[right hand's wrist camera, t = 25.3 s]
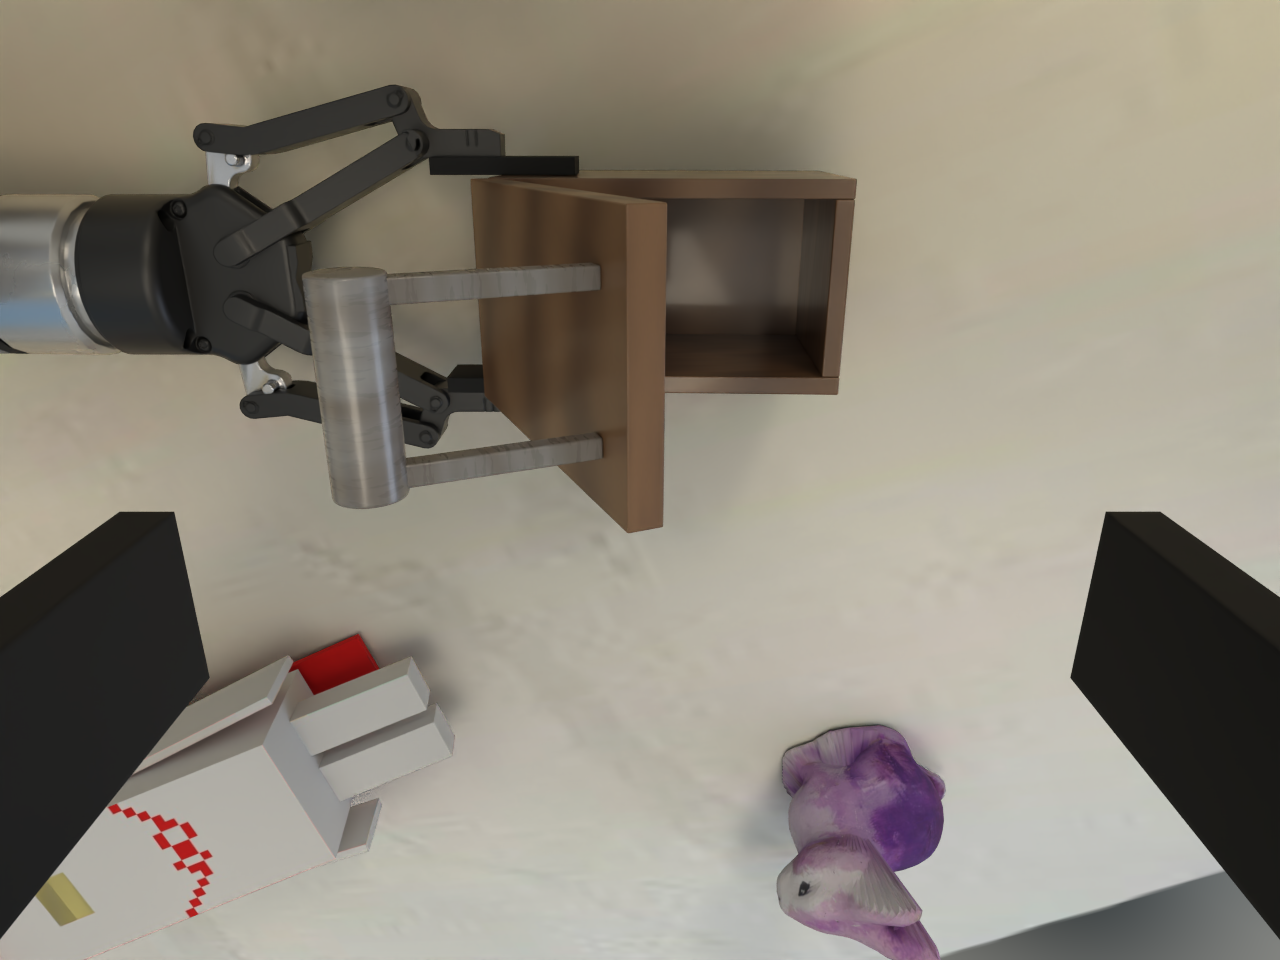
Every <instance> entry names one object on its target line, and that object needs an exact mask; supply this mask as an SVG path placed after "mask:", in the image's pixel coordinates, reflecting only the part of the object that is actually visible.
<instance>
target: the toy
mask: <svg viewBox="0 0 1280 960" xmlns="http://www.w3.org/2000/svg"><path fill="white" fill-rule="evenodd" d="M429 695H430V689H429V687H428V685H427V684H426V682H425V680H424V678H423V676H422V674H421V673H420V671H419V669H418V667H417V665H416V663H415V662H414V660H413V658H412V656H411V657H408V658H406V659H403V660H401V661H398V662H396V663H393V664H391V665H388V666H386V667H383V668H381V669H379V667H378V666H377V664H376V662H375V661H374V659H373V657H372V655H371V654H370V652H369V650H368V649H367V647H366V645H365V644H364V642H363V640H362V639H361V637H360V635H359V634H357V635H354V636H352V637H350V638H348V639H345V640H343V641H341V642H339V643H336V644H334V645H332V646H329V647H327V648H325V649H323V650H320V651H318V652H316V653H314V654H311V655H309V656H307V657H305V658H302V659H300V660H298V661H295V662H294V661H293V660H292V659H291V657H290V656H289V655H287V656H285V657H283V658H282V659H280V660H278V661H276V662H274V663H272V664H270V665H268V666H266V667H264V668H262V669H260V670H258V671H256V672H254V673H252V674H250V675H248V676H246V677H244V678H242V679H240V680H238V681H237V682H235V683H233V684H231V685H229V686H227V687H225V688H223V689H221V690H219V691H217V692H215V693H213V694H211V695H209V696H207V697H205V698H203V699H201V700H199V701H197V702H195V703H193V704H192V705H190V706H188V707H186V708H185V709H184V710H183V712H182V713H181V714H180V715H179V717H178V718H177V719H176V720H175V722H174V723H173V724H172V725H171V727H170V728H169V729H168V730H167V732H166V733H165V734H164V735H163V737H162V738H161V739H160V740H159V742H158V743H157V744H156V745H155V747H154V748H153V749H152V750H151V752H150V753H149V754H148V755H147V757H146V758H145V759H144V760H143V762H142V763H141V764H140V765H139V767H138V768H137V769H136V770H135V772H134V773H133V774H132V775H131V777H130V778H129V779H128V780H127V782H126V783H125V784H124V785H123V787H122V788H121V789H120V790H119V792H118V793H117V794H116V795H115V797H114V798H113V799H112V800H111V802H110V803H109V804H108V805H107V807H106V808H105V809H104V810H103V812H102V813H101V814H100V815H99V817H98V818H97V819H96V820H95V822H94V823H93V824H92V825H91V827H90V828H89V829H88V830H87V832H86V833H85V834H84V835H83V837H82V838H81V839H80V840H79V842H78V843H77V844H76V845H75V847H74V848H73V849H72V850H71V852H70V853H69V854H68V855H67V857H66V858H65V859H64V860H63V862H62V863H61V864H60V865H59V867H58V868H57V869H56V870H55V872H54V873H53V874H52V875H51V877H50V878H49V879H48V880H47V882H46V883H45V884H44V885H43V887H42V888H41V889H40V890H39V892H38V893H37V894H36V895H35V897H34V898H33V899H32V900H31V902H30V903H29V904H28V905H27V907H26V908H25V909H24V910H23V912H22V913H21V914H20V915H19V917H18V918H17V919H16V920H15V922H14V923H13V924H12V925H11V927H10V928H9V929H8V930H7V932H6V933H5V934H4V935H3V937H2V938H1V939H0V960H86V959H89V958H91V957H94V956H96V955H98V954H101V953H103V952H106V951H108V950H111V949H113V948H116V947H118V946H121V945H123V944H126V943H128V942H131V941H133V940H136V939H138V938H141V937H143V936H146V935H148V934H151V933H153V932H155V931H158V930H160V929H163V928H165V927H168V926H170V925H173V924H175V923H178V922H180V921H183V920H185V919H188V918H190V917H193V916H195V915H198V914H200V913H203V912H205V911H208V910H210V909H212V908H215V907H217V906H220V905H222V904H225V903H227V902H230V901H232V900H235V899H237V898H240V897H242V896H245V895H247V894H250V893H252V892H255V891H257V890H260V889H262V888H265V887H267V886H269V885H272V884H274V883H277V882H279V881H282V880H284V879H287V878H289V877H292V876H294V875H297V874H299V873H302V872H304V871H307V870H309V869H313V868H316V867H319V866H322V865H326V864H329V863H332V862H335V861H338V860H342V859H345V858H348V857H351V856H355V855H358V854H361V853H364V852H368V851H369V849H370V846H371V842H372V839H373V835H374V831H375V828H376V824H377V821H378V817H379V814H380V810H381V807H382V803H381V801H380V799H379V798H378V799H374V800H371V801H368V802H365V803H361V804H358V805H355V806H352V807H350V806H351V802H352V799H353V796H355V795H357V794H360V793H362V792H365V791H367V790H369V789H372V788H374V787H377V786H379V785H382V784H384V783H387V782H389V781H392V780H394V779H397V778H399V777H402V776H404V775H407V774H409V773H412V772H414V771H417V770H419V769H422V768H424V767H427V766H429V765H431V764H434V763H436V762H439V761H441V760H444V759H446V758H449V757H451V756H452V755H453V747H454V739H455V735H454V733H453V731H452V729H451V728H450V726H449V724H448V722H447V720H446V718H445V717H444V715H443V713H442V711H441V709H440V707H439V706H438V704H437V703H435V704H432V705H430V706H428V700H429Z"/></svg>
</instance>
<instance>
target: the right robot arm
mask: <svg viewBox="0 0 1280 960" xmlns="http://www.w3.org/2000/svg"><path fill="white" fill-rule="evenodd" d="M209 678H210V677H209V673H208V668H207V663H206V659H205V654H204V649H203V645H202V640H201V635H200V631H199V626H198V621H197V617H196V612H195V607H194V602H193V598H192V593H191V588H190V584H189V579H188V574H187V570H186V565H185V560H184V556H183V551H182V546H181V542H180V537H179V532H178V528H177V523H176V518H175V514H174V512H119V513H117V514H116V515H115V516H113V517H112V518H110V519H109V520H108V521H106V522H105V523H103V524H102V525H101V526H99V527H98V528H96V529H95V530H94V531H92V532H91V533H89V534H88V535H87V536H85V537H84V538H82V539H81V540H80V541H78V542H77V543H75V544H74V545H73V546H71V547H70V548H68V549H67V550H66V551H64V552H63V553H61V554H60V555H59V556H57V557H56V558H54V559H53V560H52V561H50V562H49V563H48V564H46V565H45V566H43V567H42V568H41V569H39V570H38V571H36V572H35V573H34V574H32V575H31V576H29V577H28V578H27V579H25V580H24V581H22V582H21V583H20V584H18V585H17V586H15V587H14V588H13V589H11V590H10V591H8V592H7V593H6V594H4V595H3V596H1V597H0V939H1V938H2V937H3V935H4V934H5V933H6V932H7V930H8V929H9V928H10V927H11V925H12V924H13V923H14V922H15V920H16V919H17V918H18V917H19V915H20V914H21V913H22V912H23V910H24V909H25V908H26V907H27V905H28V904H29V903H30V902H31V900H32V899H33V898H34V897H35V895H36V894H37V893H38V892H39V890H40V889H41V888H42V887H43V885H44V884H45V883H46V882H47V880H48V879H49V878H50V877H51V875H52V874H53V873H54V872H55V870H56V869H57V868H58V867H59V865H60V864H61V863H62V862H63V860H64V859H65V858H66V857H67V855H68V854H69V853H70V852H71V850H72V849H73V848H74V847H75V845H76V844H77V843H78V842H79V840H80V839H81V838H82V837H83V835H84V834H85V833H86V832H87V830H88V829H89V828H90V827H91V825H92V824H93V823H94V822H95V820H96V819H97V818H98V817H99V815H100V814H101V813H102V812H103V810H104V809H105V808H106V807H107V805H108V804H109V803H110V802H111V800H112V799H113V798H114V797H115V795H116V794H117V793H118V792H119V790H120V789H121V788H122V787H123V785H124V784H125V783H126V782H127V780H128V779H129V778H130V777H131V775H132V774H133V773H134V772H135V770H136V769H137V768H138V767H139V765H140V764H141V763H142V762H143V760H144V759H145V758H146V757H147V755H148V754H149V753H150V752H151V750H152V749H153V748H154V747H155V745H156V744H157V743H158V742H159V740H160V739H161V738H162V737H163V735H164V734H165V733H166V732H167V730H168V729H169V728H170V727H171V725H172V724H173V723H174V722H175V720H176V719H177V718H178V717H179V715H180V714H181V713H182V712H183V710H184V709H185V708H186V707H187V705H188V704H189V703H190V702H191V700H192V699H193V698H194V697H195V695H196V694H197V693H198V692H199V690H200V689H201V688H202V687H203V685H204V684H205V683H206V682H207V680H208V679H209ZM1070 678H1071V679H1072V680H1073V682H1074V683H1075V684H1076V685H1077V687H1078V688H1079V689H1080V690H1081V692H1082V693H1083V694H1084V695H1085V697H1086V698H1087V699H1088V700H1089V702H1090V703H1091V704H1092V705H1093V707H1094V708H1095V709H1096V710H1097V712H1098V713H1099V714H1100V715H1101V717H1102V718H1103V719H1104V720H1105V722H1106V723H1107V724H1108V725H1109V727H1110V728H1111V729H1112V730H1113V732H1114V733H1115V734H1116V735H1117V737H1118V738H1119V739H1120V740H1121V742H1122V743H1123V744H1124V745H1125V747H1126V748H1127V749H1128V750H1129V752H1130V753H1131V754H1132V755H1133V757H1134V758H1135V759H1136V760H1137V762H1138V763H1139V764H1140V765H1141V767H1142V768H1143V769H1144V770H1145V772H1146V773H1147V774H1148V775H1149V777H1150V778H1151V779H1152V780H1153V782H1154V783H1155V784H1156V785H1157V787H1158V788H1159V789H1160V790H1161V792H1162V793H1163V794H1164V795H1165V797H1166V798H1167V799H1168V800H1169V802H1170V803H1171V804H1172V805H1173V807H1174V808H1175V809H1176V810H1177V812H1178V813H1179V814H1180V815H1181V817H1182V818H1183V819H1184V820H1185V822H1186V823H1187V824H1188V825H1189V827H1190V828H1191V829H1192V830H1193V832H1194V833H1195V834H1196V835H1197V837H1198V838H1199V839H1200V840H1201V842H1202V843H1203V844H1204V845H1205V847H1206V848H1207V849H1208V850H1209V852H1210V853H1211V854H1212V855H1213V857H1214V858H1215V859H1216V860H1217V862H1218V863H1219V864H1220V865H1221V867H1222V868H1223V869H1224V870H1225V872H1226V873H1227V874H1228V875H1229V876H1230V878H1231V879H1232V880H1233V882H1234V883H1235V884H1236V885H1237V887H1238V888H1239V889H1240V890H1241V892H1242V893H1243V894H1244V895H1245V897H1246V898H1247V899H1248V900H1249V902H1250V903H1251V904H1252V905H1253V907H1254V908H1255V909H1256V910H1257V912H1258V913H1259V914H1260V915H1261V917H1262V918H1263V919H1264V920H1265V922H1266V923H1267V924H1268V925H1269V927H1270V928H1271V929H1272V930H1273V932H1274V933H1275V934H1276V935H1277V937H1278V938H1279V939H1280V597H1279V596H1277V595H1276V594H1274V593H1273V592H1272V591H1270V590H1269V589H1267V588H1266V587H1265V586H1263V585H1262V584H1260V583H1259V582H1258V581H1256V580H1255V579H1253V578H1252V577H1251V576H1249V575H1248V574H1246V573H1245V572H1244V571H1242V570H1241V569H1239V568H1238V567H1237V566H1235V565H1234V564H1232V563H1231V562H1230V561H1228V560H1227V559H1226V558H1224V557H1223V556H1221V555H1220V554H1219V553H1217V552H1216V551H1214V550H1213V549H1212V548H1210V547H1209V546H1207V545H1206V544H1205V543H1203V542H1202V541H1200V540H1199V539H1198V538H1196V537H1195V536H1193V535H1192V534H1191V533H1189V532H1188V531H1186V530H1185V529H1184V528H1182V527H1181V526H1179V525H1178V524H1177V523H1175V522H1174V521H1172V520H1171V519H1170V518H1168V517H1167V516H1165V515H1164V514H1163V513H1161V512H1106V514H1105V518H1104V523H1103V528H1102V532H1101V537H1100V542H1099V546H1098V551H1097V556H1096V560H1095V565H1094V570H1093V574H1092V579H1091V584H1090V588H1089V593H1088V598H1087V602H1086V607H1085V612H1084V617H1083V621H1082V626H1081V631H1080V635H1079V640H1078V645H1077V649H1076V654H1075V659H1074V663H1073V668H1072V673H1071V677H1070Z"/></svg>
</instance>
